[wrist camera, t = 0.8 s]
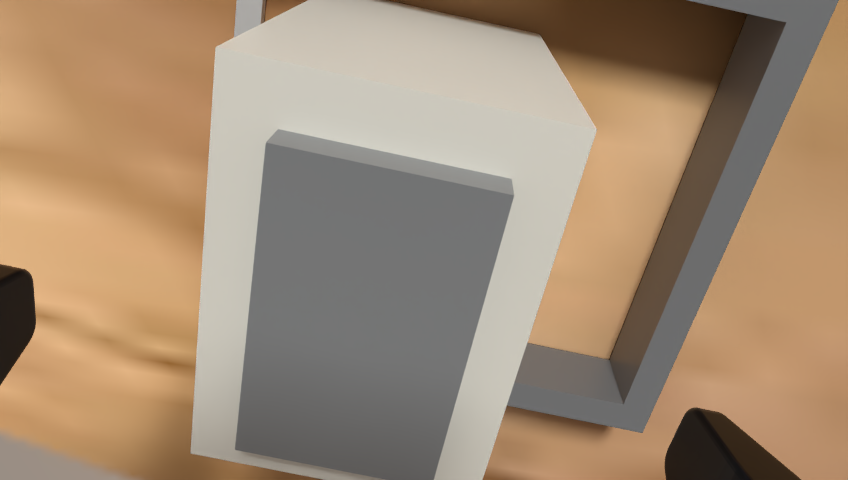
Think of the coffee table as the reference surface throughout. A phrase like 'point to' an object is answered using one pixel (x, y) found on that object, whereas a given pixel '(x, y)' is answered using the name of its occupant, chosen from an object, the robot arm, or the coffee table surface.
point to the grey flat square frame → (678, 220)
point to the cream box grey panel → (377, 237)
